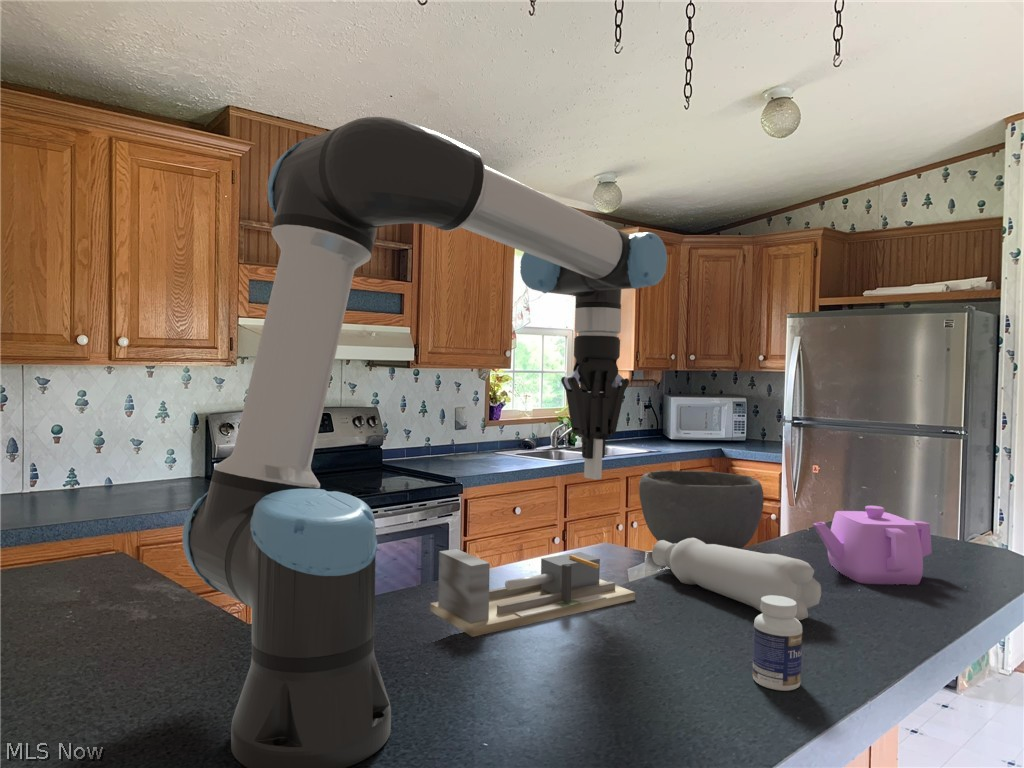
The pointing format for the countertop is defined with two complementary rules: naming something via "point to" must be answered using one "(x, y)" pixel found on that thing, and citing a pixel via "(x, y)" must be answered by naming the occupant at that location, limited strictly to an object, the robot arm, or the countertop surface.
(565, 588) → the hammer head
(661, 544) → the bottle
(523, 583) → the sliding vise jaw
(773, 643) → the pill bottle
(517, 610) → the bench vise
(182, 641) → the countertop surface
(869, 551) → the teakettle
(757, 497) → the bowl
